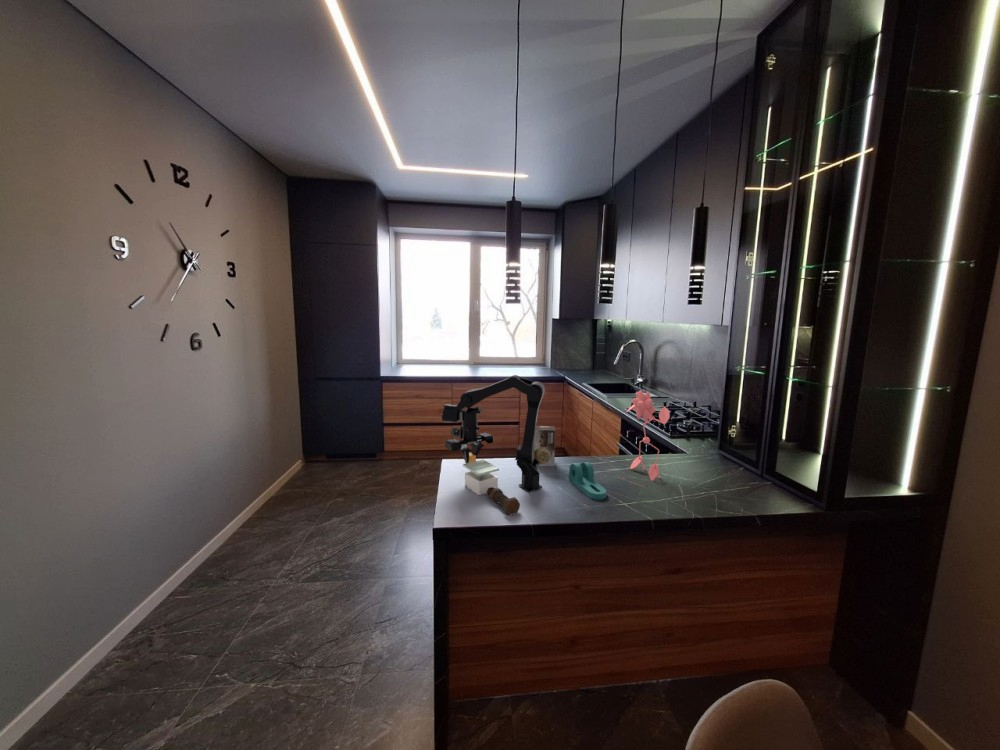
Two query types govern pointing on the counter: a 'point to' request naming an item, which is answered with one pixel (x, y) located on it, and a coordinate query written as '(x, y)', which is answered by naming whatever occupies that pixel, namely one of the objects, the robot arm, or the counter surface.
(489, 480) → the parts tub
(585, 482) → the bracket
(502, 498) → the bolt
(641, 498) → the counter surface
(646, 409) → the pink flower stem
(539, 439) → the coffee box
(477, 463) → the lid
